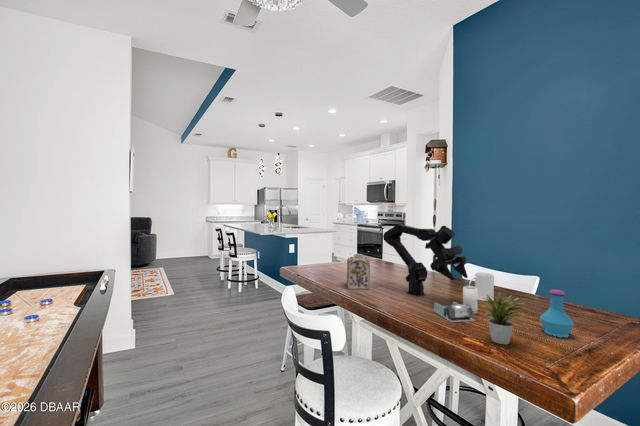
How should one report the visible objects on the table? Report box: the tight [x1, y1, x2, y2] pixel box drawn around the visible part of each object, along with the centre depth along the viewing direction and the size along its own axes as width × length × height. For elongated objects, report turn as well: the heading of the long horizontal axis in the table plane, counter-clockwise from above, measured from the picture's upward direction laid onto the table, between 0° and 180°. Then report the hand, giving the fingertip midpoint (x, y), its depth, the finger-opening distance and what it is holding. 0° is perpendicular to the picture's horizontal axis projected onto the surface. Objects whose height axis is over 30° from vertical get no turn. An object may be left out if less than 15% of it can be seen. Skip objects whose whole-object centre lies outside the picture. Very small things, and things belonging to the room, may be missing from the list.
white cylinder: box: [462, 285, 479, 315], centre depth 126 cm, size 6×6×10 cm
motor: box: [432, 301, 475, 323], centre depth 120 cm, size 13×10×6 cm
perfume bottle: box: [539, 289, 574, 338], centre depth 104 cm, size 9×9×15 cm
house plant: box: [481, 290, 529, 345], centre depth 96 cm, size 14×14×16 cm
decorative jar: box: [346, 253, 371, 290], centre depth 164 cm, size 12×12×18 cm
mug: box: [468, 271, 495, 302], centre depth 144 cm, size 12×8×12 cm
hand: (460, 278), depth 130 cm, fingers open, 9 cm apart
